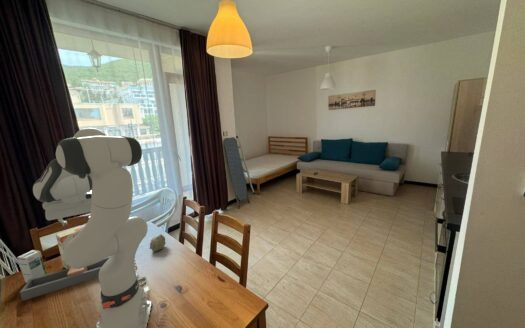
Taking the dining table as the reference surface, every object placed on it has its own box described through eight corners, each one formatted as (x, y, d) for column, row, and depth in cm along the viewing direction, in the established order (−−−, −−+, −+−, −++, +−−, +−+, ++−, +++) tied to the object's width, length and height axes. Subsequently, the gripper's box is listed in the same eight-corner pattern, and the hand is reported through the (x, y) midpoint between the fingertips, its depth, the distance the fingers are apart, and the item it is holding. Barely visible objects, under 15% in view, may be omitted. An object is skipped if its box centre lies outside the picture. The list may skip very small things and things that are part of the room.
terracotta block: (85, 277, 102) (83, 269, 101) (69, 282, 99) (67, 274, 98) (87, 270, 107) (86, 262, 106) (72, 274, 104) (70, 266, 103)
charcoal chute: (112, 272, 106) (110, 265, 105) (22, 300, 90) (19, 292, 90) (114, 263, 114) (112, 255, 113) (31, 287, 98) (29, 279, 97)
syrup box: (33, 284, 100) (25, 257, 97) (24, 282, 101) (16, 256, 98) (47, 275, 106) (40, 250, 103) (39, 274, 107) (31, 249, 104)
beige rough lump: (163, 248, 130) (165, 232, 131) (166, 252, 123) (169, 235, 124) (146, 249, 124) (149, 232, 125) (149, 254, 117) (152, 236, 119)
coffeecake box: (68, 271, 109) (59, 237, 105) (63, 266, 112) (54, 234, 108) (101, 255, 121) (94, 224, 117) (95, 251, 125) (89, 222, 121)
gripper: (40, 203, 87) (46, 232, 91) (100, 193, 100) (104, 219, 104) (42, 198, 92) (48, 225, 95) (100, 189, 105) (103, 214, 108)
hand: (78, 222), depth 100 cm, fingers open, 8 cm apart
